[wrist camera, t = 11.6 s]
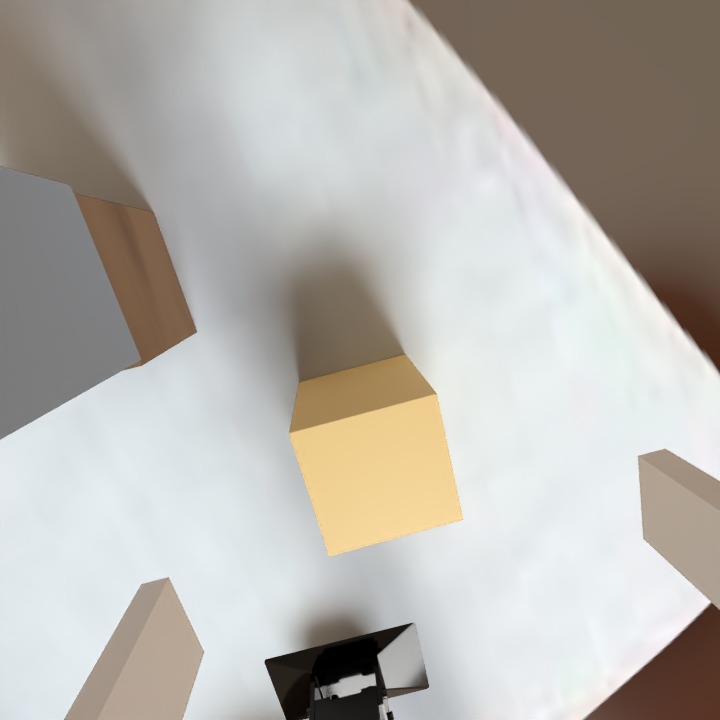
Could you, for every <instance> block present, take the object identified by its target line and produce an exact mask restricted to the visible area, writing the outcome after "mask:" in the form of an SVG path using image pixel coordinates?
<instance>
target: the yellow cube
mask: <svg viewBox="0 0 720 720" xmlns="http://www.w3.org/2000/svg"><path fill="white" fill-rule="evenodd" d="M289 435H290V438H291V441H292V444H293V447H294V450H295V453H296V456H297V459H298V462H299V465H300V469H301V472H302V475H303V478H304V481H305V484H306V487H307V490H308V493H309V496H310V499H311V502H312V505H313V508H314V511H315V514H316V517H317V520H318V523H319V526H320V529H321V532H322V535H323V539H324V542H325V545H326V548H327V551H328V554H329V556H333V555H336V554H340V553H344V552H347V551H351V550H355V549H358V548H362V547H366V546H369V545H373V544H377V543H380V542H384V541H388V540H391V539H395V538H398V537H402V536H406V535H409V534H413V533H417V532H420V531H424V530H428V529H431V528H435V527H439V526H442V525H446V524H450V523H453V522H457V521H461V520H463V516H462V511H461V506H460V502H459V497H458V492H457V487H456V483H455V478H454V473H453V468H452V464H451V459H450V454H449V449H448V445H447V440H446V435H445V430H444V426H443V421H442V416H441V412H440V407H439V402H438V397H437V393H436V392H435V391H434V390H433V388H432V387H431V386H430V385H429V383H428V382H427V381H426V380H425V378H424V377H423V376H422V375H421V373H420V372H419V371H418V370H417V368H416V367H415V366H414V365H413V363H412V362H411V361H410V360H409V358H408V357H407V356H406V355H405V354H404V355H400V356H396V357H393V358H389V359H385V360H381V361H377V362H374V363H370V364H366V365H362V366H359V367H355V368H351V369H347V370H343V371H340V372H336V373H332V374H328V375H325V376H321V377H317V378H313V379H310V380H306V381H302V382H299V385H298V390H297V395H296V400H295V405H294V411H293V416H292V421H291V426H290V431H289Z"/></svg>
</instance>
